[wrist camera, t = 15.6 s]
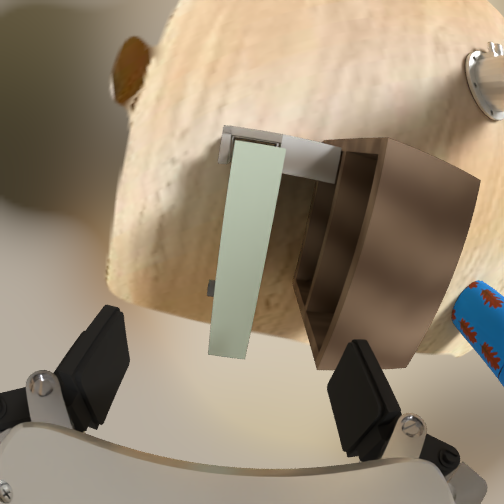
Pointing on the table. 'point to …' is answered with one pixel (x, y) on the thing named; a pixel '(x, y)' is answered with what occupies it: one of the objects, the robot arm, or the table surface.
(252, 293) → the door
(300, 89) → the table surface
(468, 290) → the thermos
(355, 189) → the cabinet
